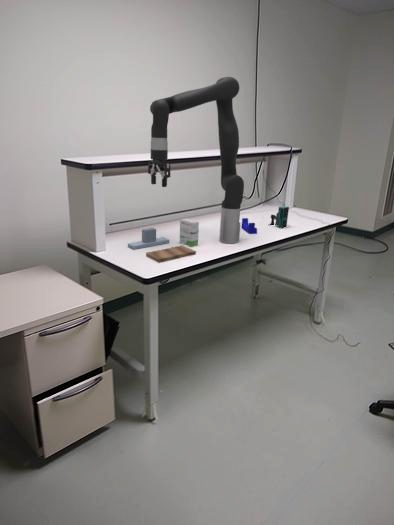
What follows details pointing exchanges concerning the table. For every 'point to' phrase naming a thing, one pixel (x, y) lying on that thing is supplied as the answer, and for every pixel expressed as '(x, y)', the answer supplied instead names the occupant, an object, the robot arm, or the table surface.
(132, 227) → the table surface
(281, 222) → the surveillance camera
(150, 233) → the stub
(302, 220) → the table surface
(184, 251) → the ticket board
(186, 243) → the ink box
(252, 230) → the blue bent block
